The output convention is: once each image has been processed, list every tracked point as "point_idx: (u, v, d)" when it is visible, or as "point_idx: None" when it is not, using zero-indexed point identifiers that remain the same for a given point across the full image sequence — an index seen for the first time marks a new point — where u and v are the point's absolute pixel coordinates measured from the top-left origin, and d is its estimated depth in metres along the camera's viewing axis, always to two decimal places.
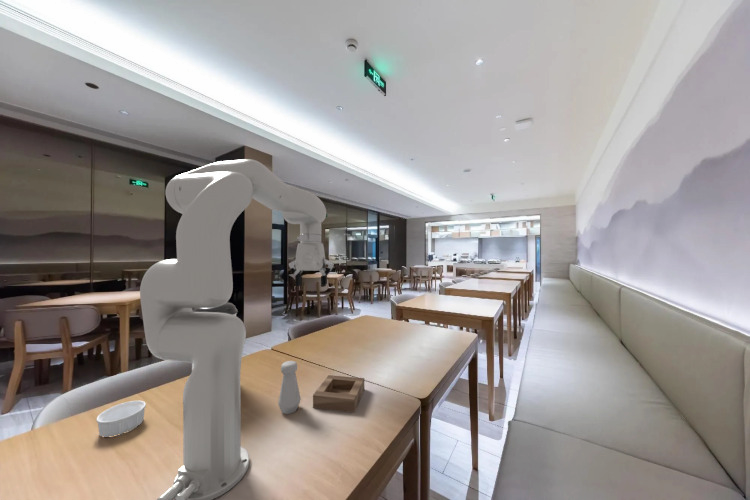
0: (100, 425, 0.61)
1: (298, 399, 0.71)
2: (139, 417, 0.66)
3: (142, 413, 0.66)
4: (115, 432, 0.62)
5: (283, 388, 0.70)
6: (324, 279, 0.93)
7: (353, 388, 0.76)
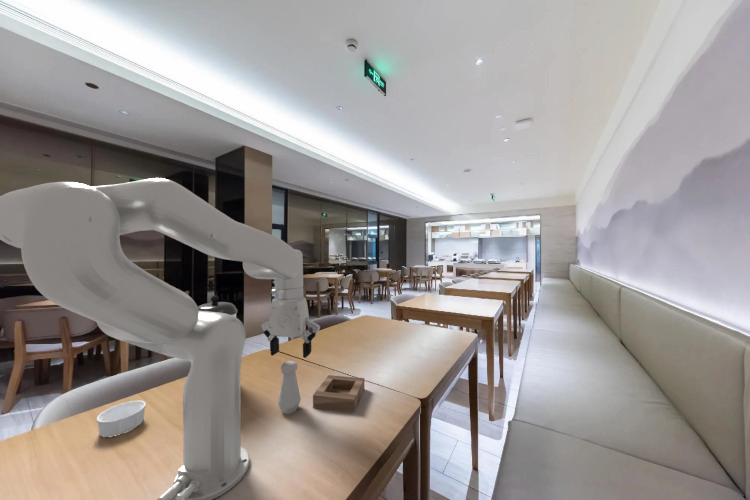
0: (100, 425, 0.61)
1: (298, 399, 0.71)
2: (139, 417, 0.66)
3: (142, 413, 0.66)
4: (115, 432, 0.62)
5: (283, 388, 0.70)
6: (307, 347, 0.71)
7: (353, 388, 0.76)
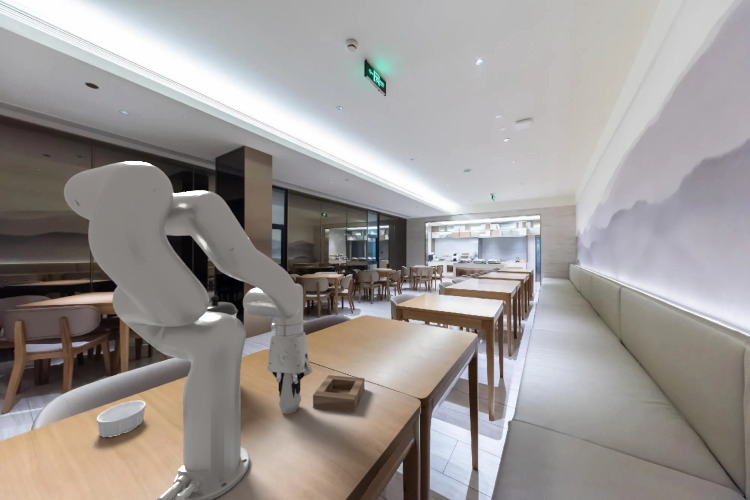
0: (100, 425, 0.61)
1: (299, 399, 0.71)
2: (139, 417, 0.66)
3: (142, 413, 0.66)
4: (115, 432, 0.62)
5: (283, 388, 0.70)
6: (296, 387, 0.71)
7: (353, 388, 0.76)
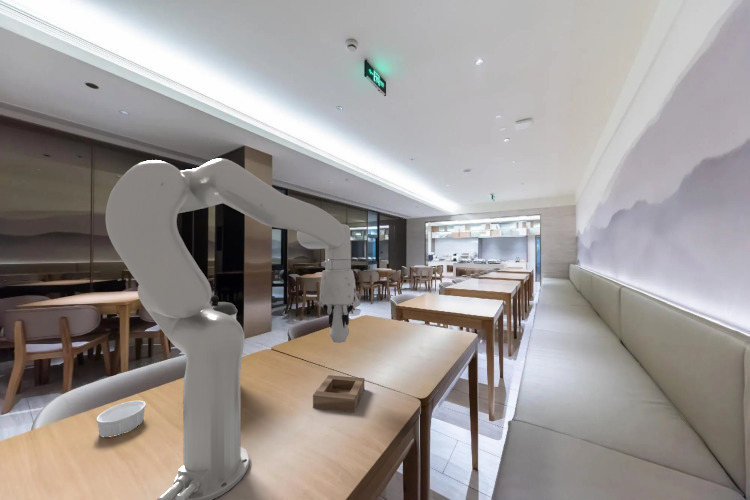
0: (100, 425, 0.61)
1: (348, 330, 0.77)
2: (139, 418, 0.66)
3: (142, 413, 0.66)
4: (115, 432, 0.62)
5: (334, 319, 0.76)
6: (346, 319, 0.76)
7: (353, 388, 0.76)
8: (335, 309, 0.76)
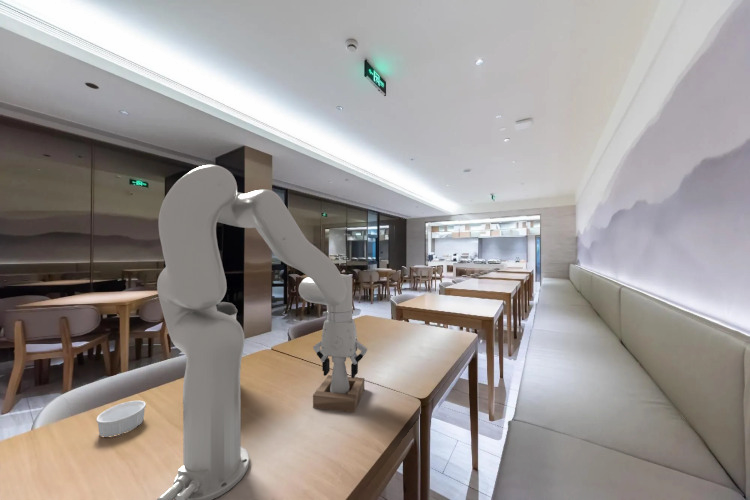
0: (100, 425, 0.61)
1: (348, 387, 0.76)
2: (139, 418, 0.65)
3: (142, 413, 0.66)
4: (115, 432, 0.62)
5: (335, 376, 0.75)
6: (355, 368, 0.76)
7: (353, 388, 0.76)
8: (335, 366, 0.76)
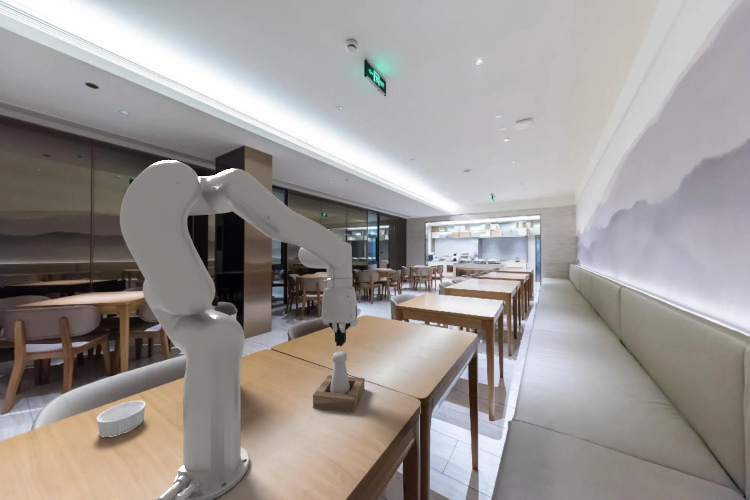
0: (100, 425, 0.61)
1: (348, 387, 0.77)
2: (139, 418, 0.65)
3: (142, 413, 0.66)
4: (115, 432, 0.62)
5: (335, 376, 0.75)
6: (343, 336, 0.77)
7: (353, 388, 0.76)
8: (336, 366, 0.76)
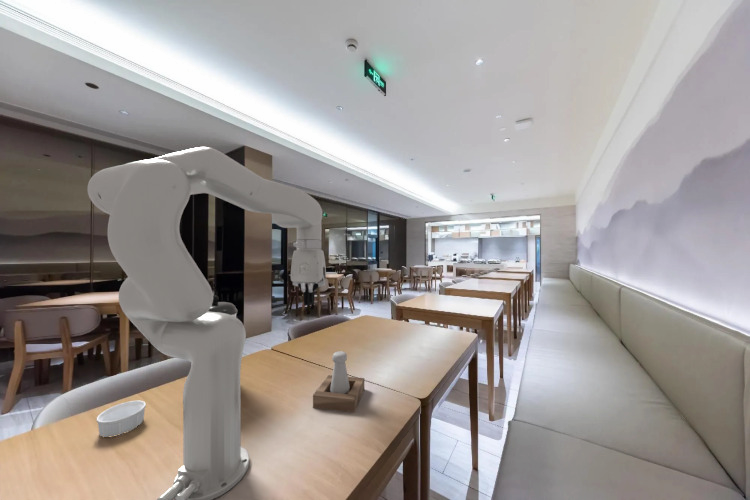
0: (100, 425, 0.61)
1: (348, 387, 0.77)
2: (139, 418, 0.65)
3: (142, 413, 0.66)
4: (115, 432, 0.62)
5: (335, 376, 0.75)
6: (311, 296, 0.80)
7: (353, 388, 0.76)
8: (336, 366, 0.76)
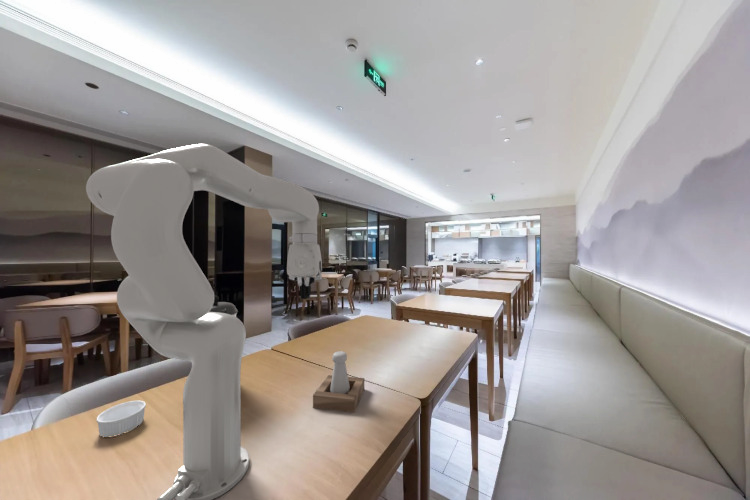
0: (100, 425, 0.61)
1: (348, 387, 0.77)
2: (139, 418, 0.65)
3: (142, 413, 0.66)
4: (115, 432, 0.62)
5: (335, 376, 0.75)
6: (307, 290, 0.81)
7: (353, 388, 0.76)
8: (336, 366, 0.76)
